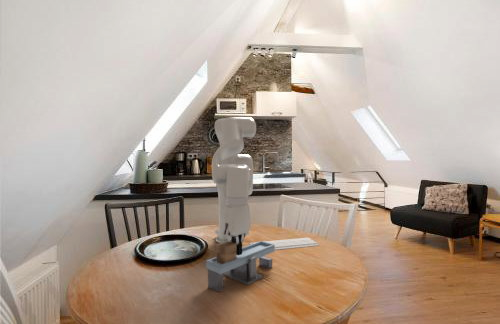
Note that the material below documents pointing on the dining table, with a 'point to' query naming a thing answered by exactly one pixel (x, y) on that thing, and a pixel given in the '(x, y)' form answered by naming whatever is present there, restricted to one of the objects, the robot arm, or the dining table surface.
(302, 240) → the baseboard molding
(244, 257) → the beam
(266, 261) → the stand
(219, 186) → the robot arm
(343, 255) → the dining table surface
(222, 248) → the rider
